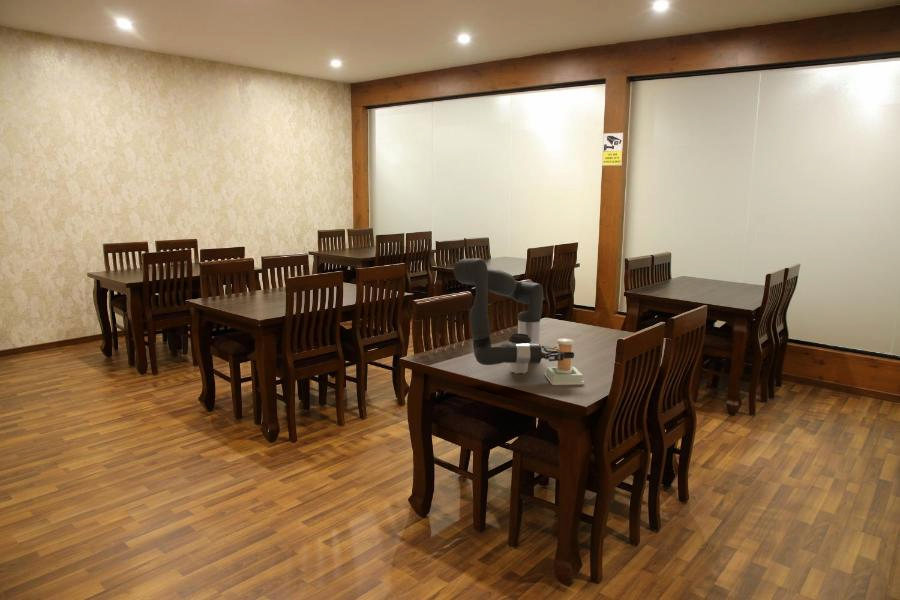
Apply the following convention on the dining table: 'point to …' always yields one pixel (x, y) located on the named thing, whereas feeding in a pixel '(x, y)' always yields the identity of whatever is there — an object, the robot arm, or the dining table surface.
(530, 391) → the dining table surface
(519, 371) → the coffee cup
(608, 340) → the dining table surface
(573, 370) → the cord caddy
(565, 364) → the cord spool
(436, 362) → the dining table surface
